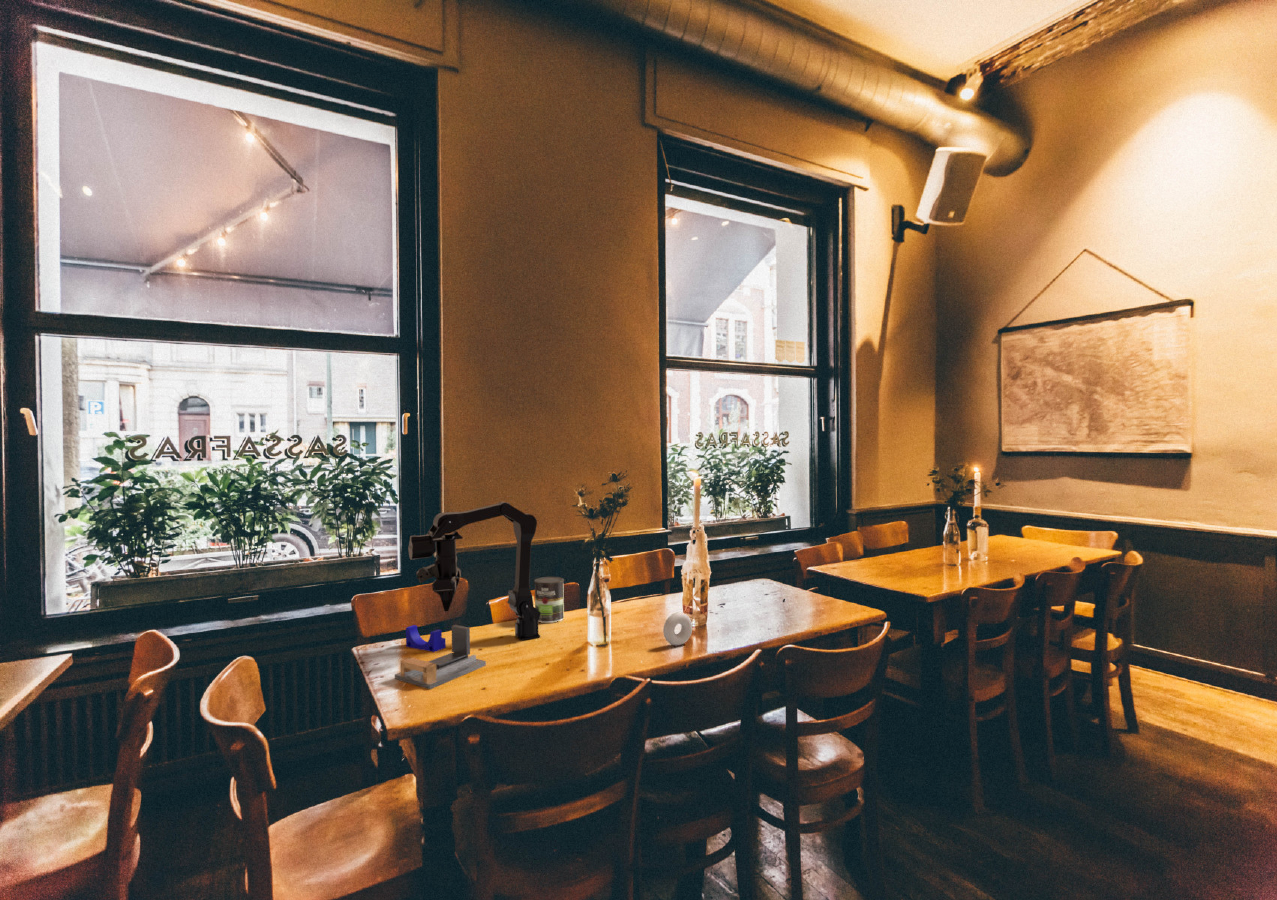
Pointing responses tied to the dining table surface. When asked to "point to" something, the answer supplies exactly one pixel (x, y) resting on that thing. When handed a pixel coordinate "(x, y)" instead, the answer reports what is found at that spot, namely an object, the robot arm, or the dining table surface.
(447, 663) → the metal angle bracket
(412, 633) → the blue saddle bracket
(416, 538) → the robot arm
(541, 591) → the coffee can
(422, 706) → the dining table surface
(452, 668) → the rail base
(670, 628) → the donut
